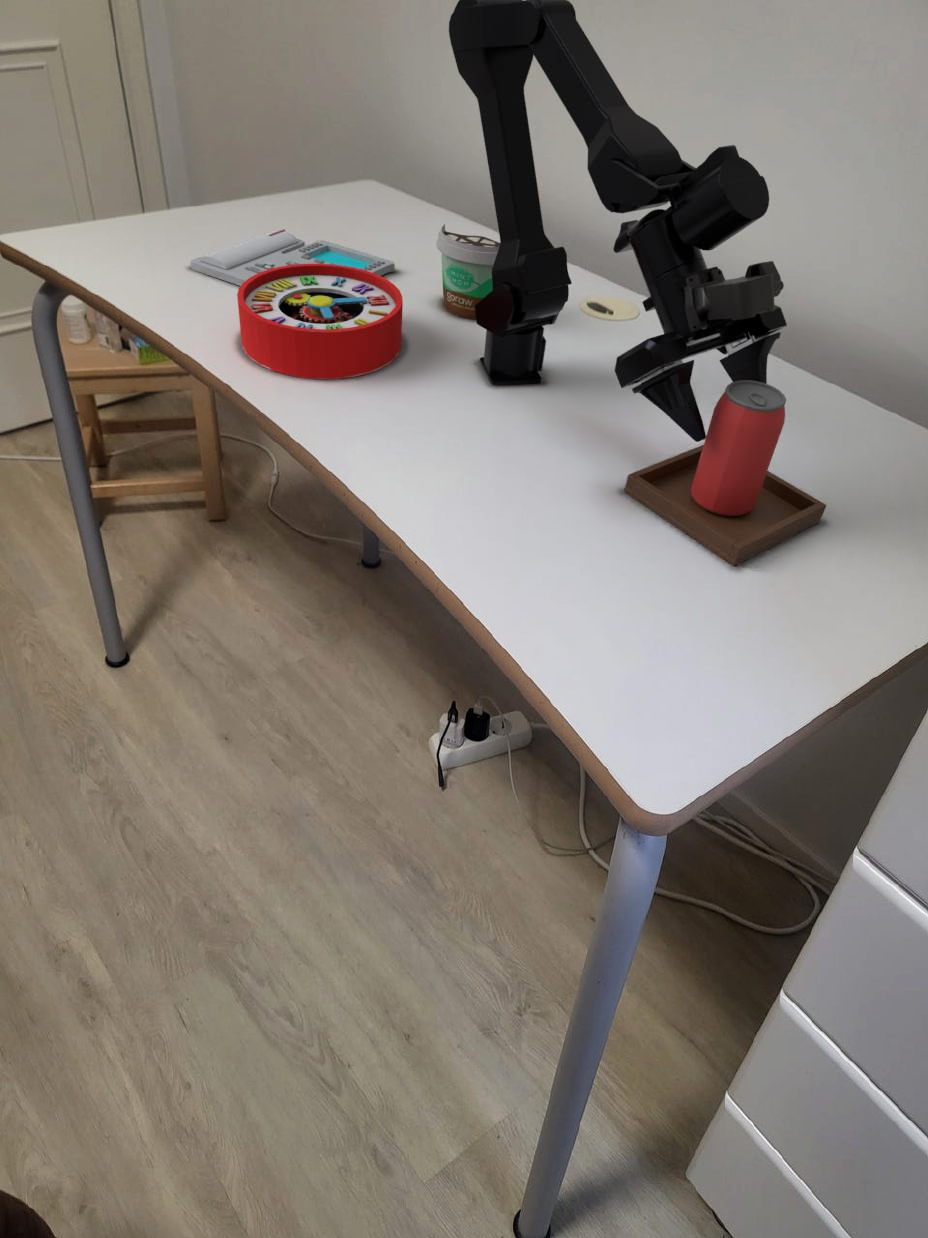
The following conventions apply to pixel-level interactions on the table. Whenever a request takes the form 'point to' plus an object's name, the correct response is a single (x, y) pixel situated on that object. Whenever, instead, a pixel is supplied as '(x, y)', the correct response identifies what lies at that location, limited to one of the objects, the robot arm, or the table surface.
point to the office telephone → (282, 257)
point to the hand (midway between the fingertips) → (732, 427)
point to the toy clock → (320, 320)
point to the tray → (728, 537)
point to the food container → (465, 271)
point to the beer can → (738, 448)
